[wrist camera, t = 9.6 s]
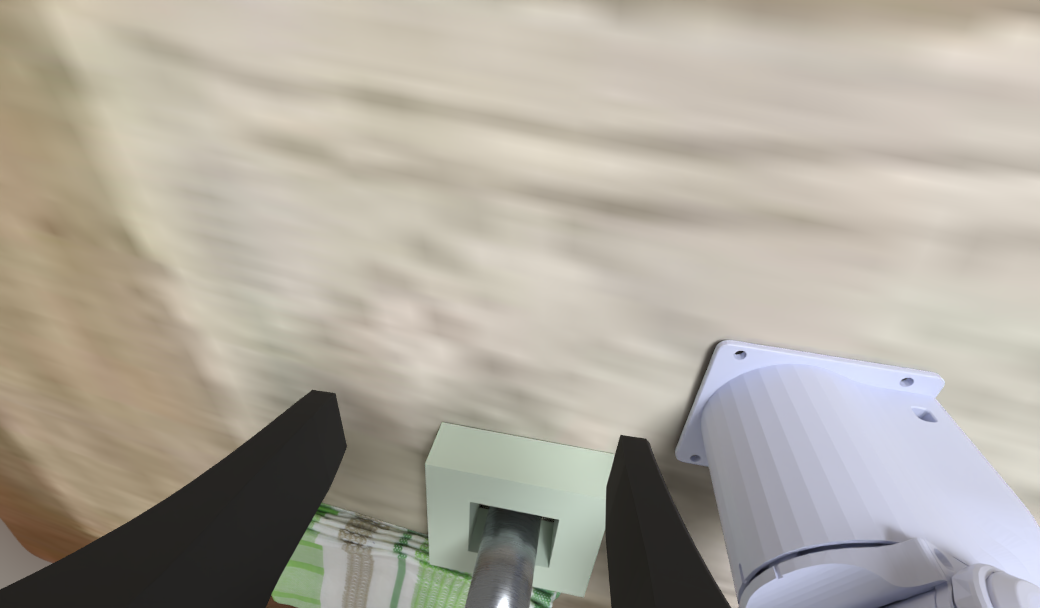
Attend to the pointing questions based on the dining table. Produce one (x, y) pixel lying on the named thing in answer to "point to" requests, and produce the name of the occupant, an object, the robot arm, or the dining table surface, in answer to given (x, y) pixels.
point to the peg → (505, 560)
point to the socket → (517, 500)
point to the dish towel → (372, 568)
